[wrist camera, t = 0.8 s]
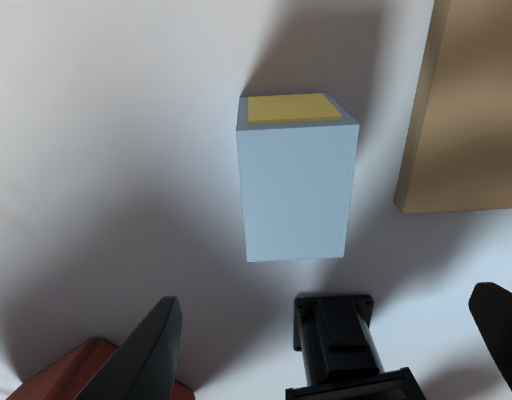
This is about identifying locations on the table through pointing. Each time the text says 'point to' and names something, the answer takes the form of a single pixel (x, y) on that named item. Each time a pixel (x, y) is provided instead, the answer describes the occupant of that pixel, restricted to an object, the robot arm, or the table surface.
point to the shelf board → (461, 113)
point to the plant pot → (77, 375)
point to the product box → (295, 175)
